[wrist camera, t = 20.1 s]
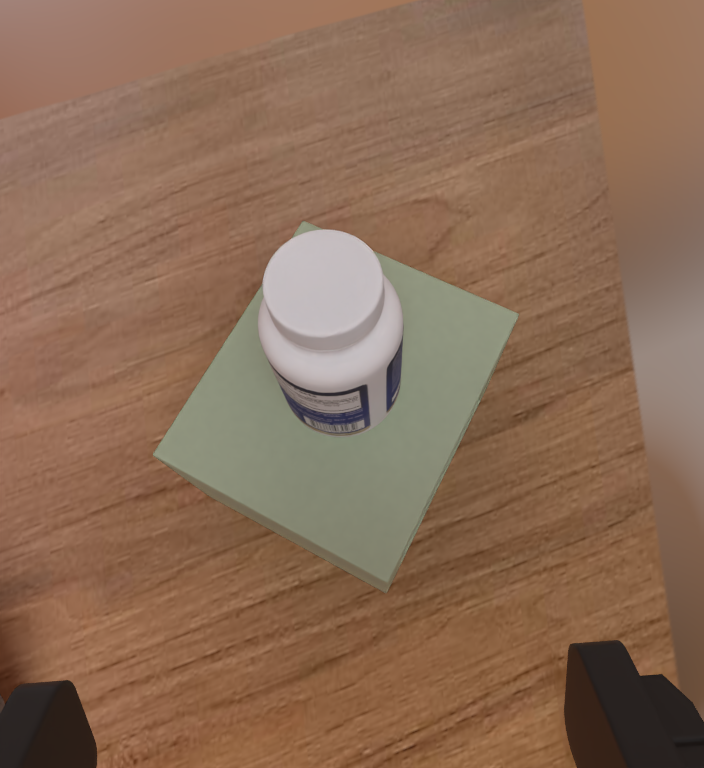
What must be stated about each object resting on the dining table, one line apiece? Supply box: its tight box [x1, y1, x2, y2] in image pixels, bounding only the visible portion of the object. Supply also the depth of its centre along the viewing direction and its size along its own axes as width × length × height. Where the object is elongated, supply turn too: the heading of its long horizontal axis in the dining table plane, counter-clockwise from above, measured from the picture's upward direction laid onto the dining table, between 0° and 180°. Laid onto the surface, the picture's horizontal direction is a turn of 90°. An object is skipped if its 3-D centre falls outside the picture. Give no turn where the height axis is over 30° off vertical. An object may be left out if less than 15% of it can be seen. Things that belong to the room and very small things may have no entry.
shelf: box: [153, 221, 519, 593], centre depth 35 cm, size 12×14×10 cm
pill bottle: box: [258, 230, 404, 437], centre depth 25 cm, size 5×5×10 cm
